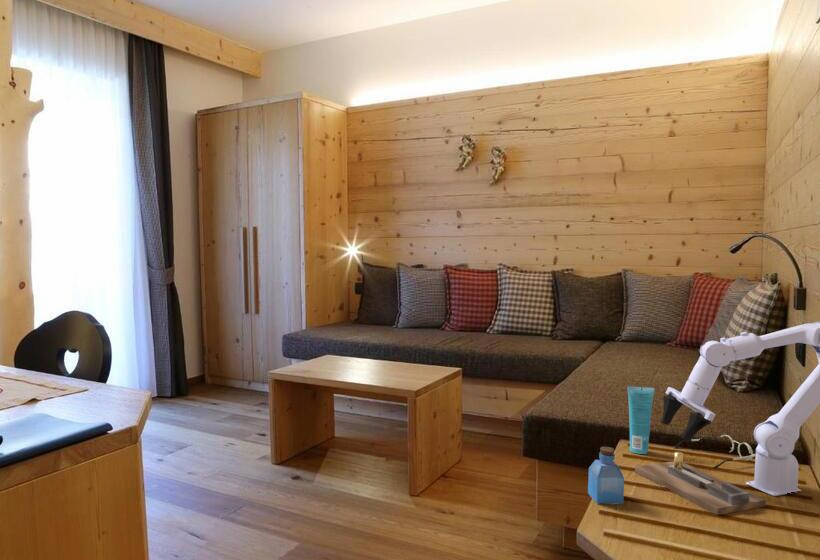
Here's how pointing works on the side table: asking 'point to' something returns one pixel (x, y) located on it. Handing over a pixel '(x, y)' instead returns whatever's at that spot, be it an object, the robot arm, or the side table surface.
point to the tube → (640, 417)
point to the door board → (701, 488)
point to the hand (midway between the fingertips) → (674, 431)
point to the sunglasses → (730, 451)
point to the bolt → (678, 465)
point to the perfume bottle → (606, 479)
